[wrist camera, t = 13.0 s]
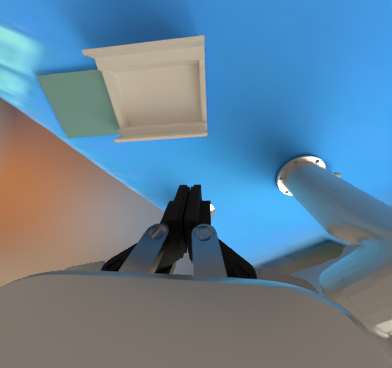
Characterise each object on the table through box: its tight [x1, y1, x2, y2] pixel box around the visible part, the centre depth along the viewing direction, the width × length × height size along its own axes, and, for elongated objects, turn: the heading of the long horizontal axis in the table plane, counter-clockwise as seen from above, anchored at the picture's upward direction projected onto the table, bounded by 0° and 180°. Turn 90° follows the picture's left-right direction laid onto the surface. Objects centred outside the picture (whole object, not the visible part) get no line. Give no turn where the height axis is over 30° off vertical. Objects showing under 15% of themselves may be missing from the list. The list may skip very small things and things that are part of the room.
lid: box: [36, 69, 120, 138], centre depth 34 cm, size 16×13×2 cm
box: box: [82, 35, 208, 143], centre depth 30 cm, size 20×15×8 cm
